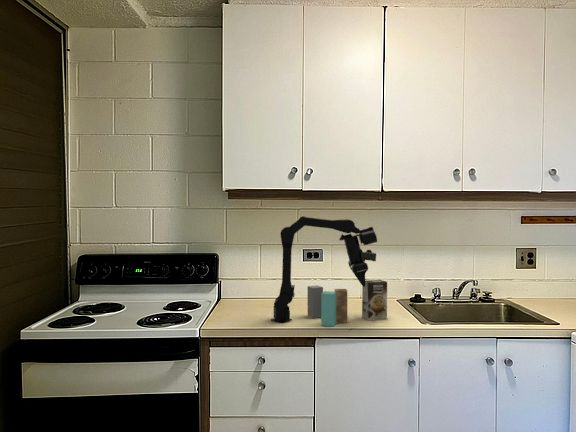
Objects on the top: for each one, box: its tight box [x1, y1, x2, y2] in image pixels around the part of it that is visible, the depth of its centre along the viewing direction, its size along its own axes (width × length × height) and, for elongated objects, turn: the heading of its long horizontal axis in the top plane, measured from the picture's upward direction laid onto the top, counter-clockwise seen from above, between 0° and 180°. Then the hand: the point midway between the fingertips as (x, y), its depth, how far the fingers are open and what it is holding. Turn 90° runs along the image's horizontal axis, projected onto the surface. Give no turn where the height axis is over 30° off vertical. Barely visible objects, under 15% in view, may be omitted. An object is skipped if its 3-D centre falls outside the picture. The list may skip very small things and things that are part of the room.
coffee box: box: [361, 279, 388, 321], centre depth 191 cm, size 9×6×16 cm
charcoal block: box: [307, 284, 324, 319], centre depth 194 cm, size 5×5×13 cm
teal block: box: [320, 290, 337, 327], centre depth 181 cm, size 5×5×13 cm
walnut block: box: [334, 288, 348, 323], centre depth 186 cm, size 5×5×13 cm
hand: (362, 284), depth 186 cm, fingers open, 9 cm apart
